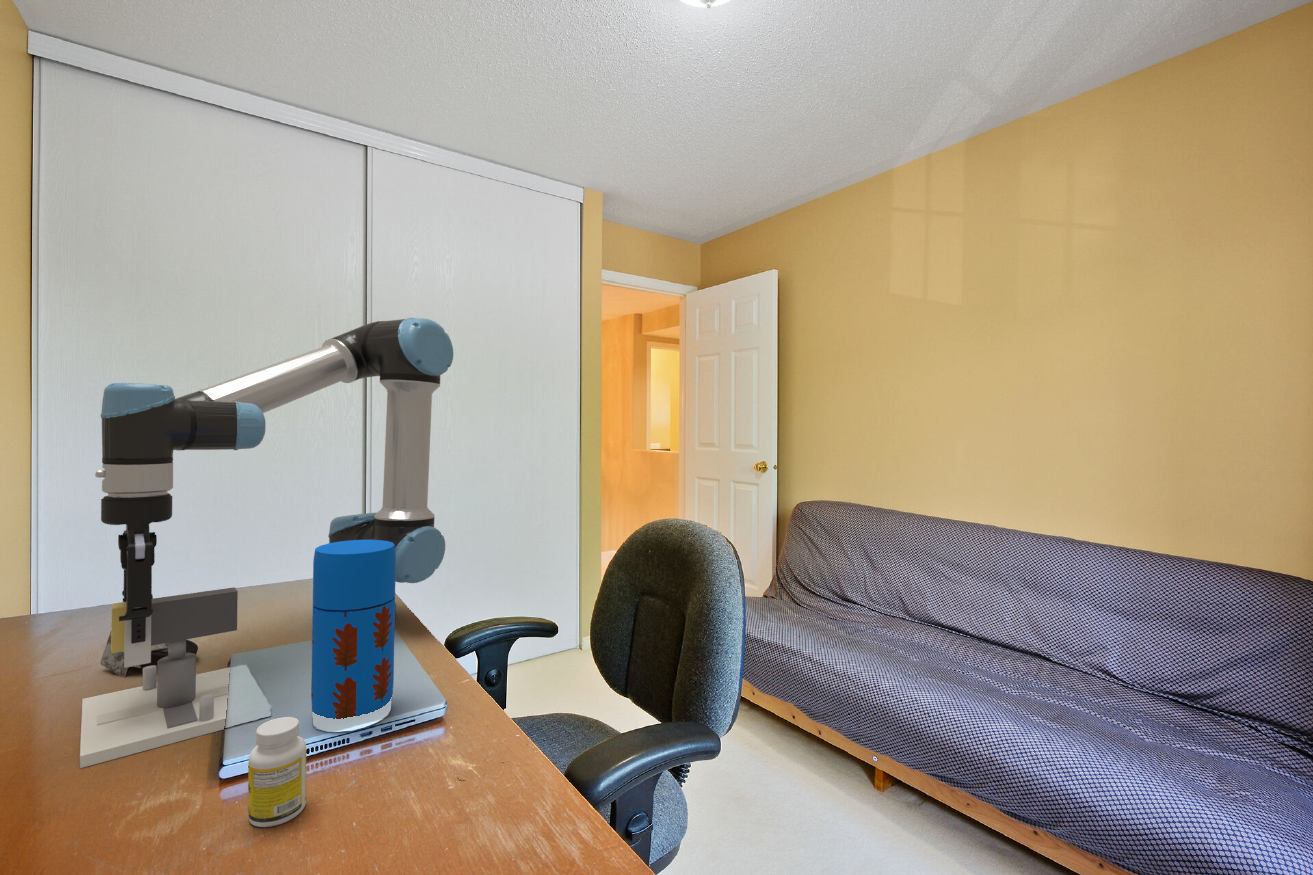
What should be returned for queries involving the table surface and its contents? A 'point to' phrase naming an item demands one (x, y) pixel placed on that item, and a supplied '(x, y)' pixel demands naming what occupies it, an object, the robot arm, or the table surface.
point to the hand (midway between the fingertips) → (136, 656)
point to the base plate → (154, 711)
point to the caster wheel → (157, 652)
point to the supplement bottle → (277, 773)
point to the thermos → (353, 627)
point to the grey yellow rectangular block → (182, 619)
